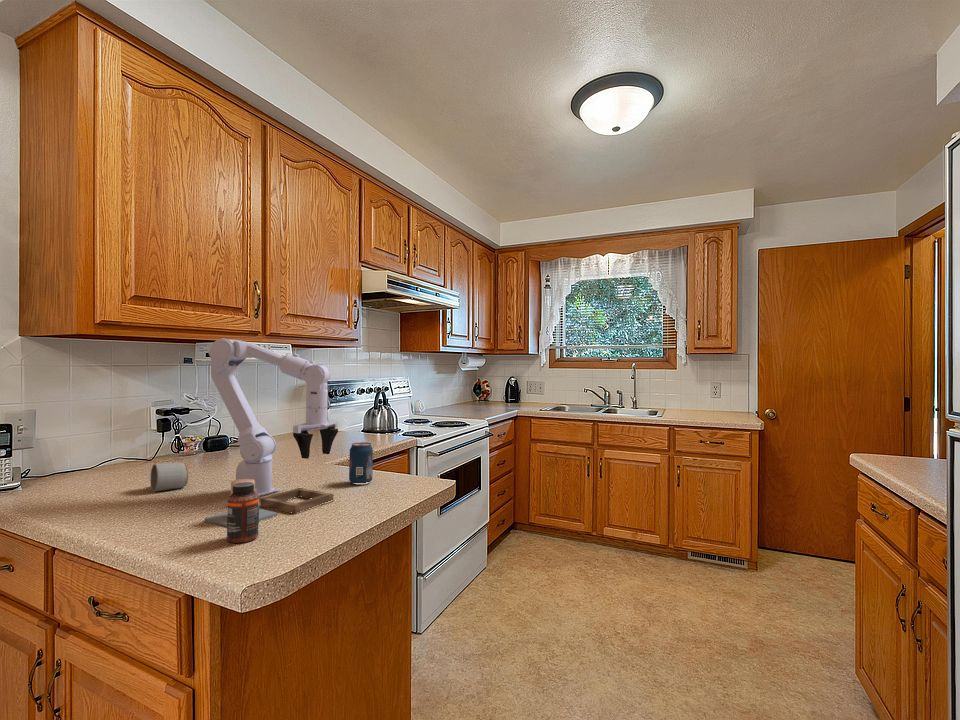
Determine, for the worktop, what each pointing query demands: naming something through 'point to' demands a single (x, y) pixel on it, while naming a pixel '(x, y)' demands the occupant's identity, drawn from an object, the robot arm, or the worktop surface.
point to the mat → (222, 517)
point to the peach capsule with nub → (242, 481)
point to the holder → (280, 503)
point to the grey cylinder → (168, 476)
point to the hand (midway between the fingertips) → (315, 456)
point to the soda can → (360, 463)
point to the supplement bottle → (242, 513)
